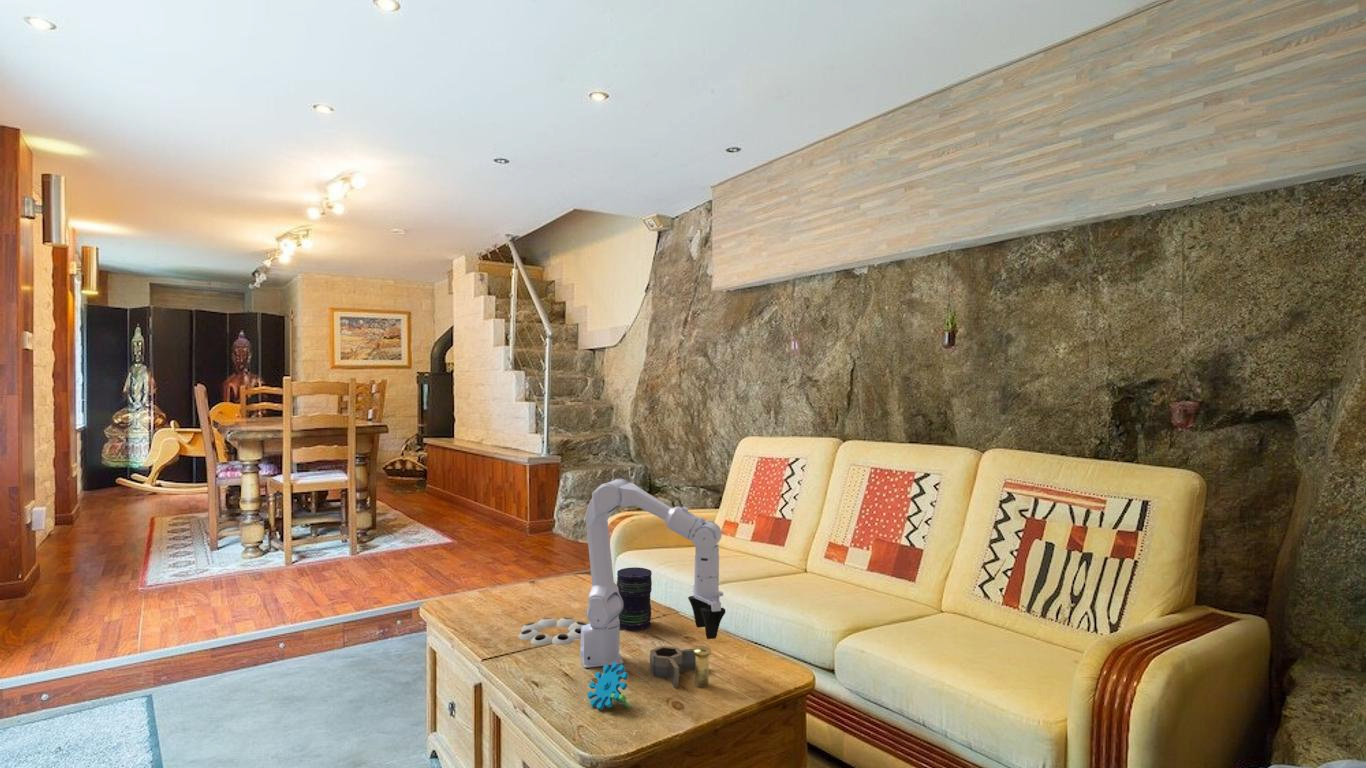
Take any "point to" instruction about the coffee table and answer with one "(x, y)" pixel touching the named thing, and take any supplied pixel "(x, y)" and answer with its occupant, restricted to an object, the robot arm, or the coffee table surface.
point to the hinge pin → (701, 665)
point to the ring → (550, 622)
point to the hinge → (671, 662)
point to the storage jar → (635, 598)
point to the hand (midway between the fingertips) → (705, 632)
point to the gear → (609, 687)
